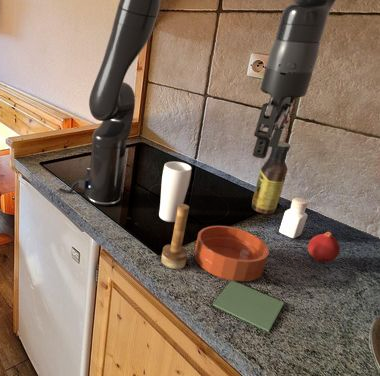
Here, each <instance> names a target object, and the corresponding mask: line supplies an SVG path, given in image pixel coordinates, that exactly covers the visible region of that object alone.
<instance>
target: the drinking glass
mask: <svg viewBox="0 0 380 376" xmlns="http://www.w3.org/2000/svg"><path fill="white" fill-rule="evenodd" d="M191 176H192V166H191V165H189V164H188V163H185V162H182V161H168V162H165V163H164V166H163V170H162V176H161V184H160V185H161V186H160V187H161V188H160V203H159V211H158V216H159V218H160V219H161V220H162V221H164V222H168V223H175V220H176V215H177V210H178V205H179V204H185V199H186V195H187V192H188V189H189V186H190V181H191Z"/></svg>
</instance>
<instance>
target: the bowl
mask: <svg viewBox="0 0 380 376" xmlns="http://www.w3.org/2000/svg"><path fill="white" fill-rule="evenodd" d="M269 255H270V250H269V247H268V245H267V244H266V242H265V241H263V240H262V239H261V238H260V237H258V236H257V235H256V234H253V233H252V232H250V231H247V230H243V229H241V228H238V227H234V226H233V227H232V226H228V225H211V226H207V227H204V228H202V229H201V230H200V231H199V232H198V233H197V238H196V243H195V248H194V252H193V257H194V259H195V262H196V263H197V264H198V265H199V267H201V268H202V269H203V270H205V271H206V272H207V273H209V274H210V275H213V276H214V277H216V278H219V279H223V280H226V281H230V282H231V280H233V281H235V282H251V281H255V280H257V279H259V278H261V277H262V275H263V273H264V272H265V268H266V264H267V262H268V259H269Z"/></svg>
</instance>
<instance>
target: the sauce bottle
mask: <svg viewBox="0 0 380 376" xmlns="http://www.w3.org/2000/svg"><path fill="white" fill-rule="evenodd" d="M290 149H291V145H290V143H288V142H284V141H279V144H278V146H277V147H276V148H273V147H271V150H270V154H269V156H268V158H267V160H266V161H265V163H264V164H263V165H262V166H261V168H260V171H259V176H258V177H257V182H256V186H255V189H254V193H253V196H252V201H251V208H252V210H253V211H254V212H257V213H260V214H263V215H264V214H265V215H272V214H274V213H275V212H276V209H277V207H278V204H279V202H280V201H279V200H280V197H281V194H282V191H283V187H284V184H285V181H286V176H287V173H288V166H287V164H286V160H287V156H288V152H290Z"/></svg>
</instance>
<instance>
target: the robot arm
mask: <svg viewBox="0 0 380 376" xmlns="http://www.w3.org/2000/svg"><path fill="white" fill-rule="evenodd" d="M161 2H162V0H119V2H118V5H117V9H116V12H115V15H114V20H113V23H112V27H111V32H110V35H109V38H108V42H107V45H106V49H105V52H104V55H103V59H102V62H101V63H100V64H101V65H100V67H99V70H98V73H97V75H96V78H95V80H94V83H93V86H92V88H91V90H90V94H89V99H88V107H89V112H90V115H91V116H92V117H93V118H94V119H95V120H97V121H99V122H101V123H100V125H99V126H98V127H97V128H96V129H95V130H94V131H92V132H93V133H92V140H91V153H90V154H91V155H90V163H89V164H90V165H88V166H87V168H86V175H85V176H84V177H81V178H79V179H78V180H77V181H75V182H74V183H72V184H71V188H70V189H65V188H61V187H59V188H58V190H59V191H60V192H63V193H65V194H70V193H73V191H74V189H75V186H77V185H78V188H80V189H83V190H85V193H84V198H86V199H87V200H88V201H89V202H90V203H91V204H94V205H96V206H101V207H111V206H112V207H113V206H116V205H118V204H120V203H121V194H122V193H121V192H122V186H123V177H124V176H123V175H124V167H125V158H126V149H127V141H128V138H129V136H130V134H131V131H132V126H133V120H134V114H135V107H136V97H135V92H134V89H133V88H132V86H131V85H130V84H129V83H127V82H124V80H125V78H126V75H127V73H128V71H129V69H130V67H131V66H132V65H133V63H134V62H135V60H136V59H137V57H138V56H139V55H140V53H141V52H143V51H142V50H143V49H144V48H145V46H146V45H147V43H148V42H149V40H150V38H151V36H152V34H153V31H154V28H155V24H156V21H157V20H158V17H159V13H160V9H161ZM335 3H336V0H292V1H291V3H290V4H288V5H286V7H284V9H283V11H282V13H281V15H280V18H279V22H278V26H277V30H276V33H275V37H274V38H275V39H274V40H273V44H272V46H271V49H270V51H269V53H268V57H267V61H266V65H265V70H264V73H263V76H262V81H261V85H260V91H261V92H262V93H265V94H269V96H270V98H269V100H268V102H264V103H263V104H262V106H261V109H260V113H259V117H258V119H257V123H256V127H255V130H254V133H253V136H254V137H255V138H256V142H255V145H254V148H253V152H252V156H253V158H259V159H261V160H262V159H265V158H266V157H267V155H268V151H269V148H272V147H273V148H276V147H277V146H278V144H279V142H280V139H281V137H282V134H283V130H285V129H286V126H287V125H288V124H289V122H290V121H289V119H290V116H291V113H292V109H293V107H294V106H293V105H294V103H295V100H296V98H302V97H305V96H306V95H307V92H308V89H309V85H310V83H311V79H312V76H313V74H314V69H315V67H316V64H317V61H318V58H319V57H318V56H319V52H320V46H321V42H322V38H323V35H324V32H325V29H326V25H327V22H328V18H329V14H330V12H331V10H332V9H333V6H334V5H335ZM264 129H267V131H265V130H264Z"/></svg>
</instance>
